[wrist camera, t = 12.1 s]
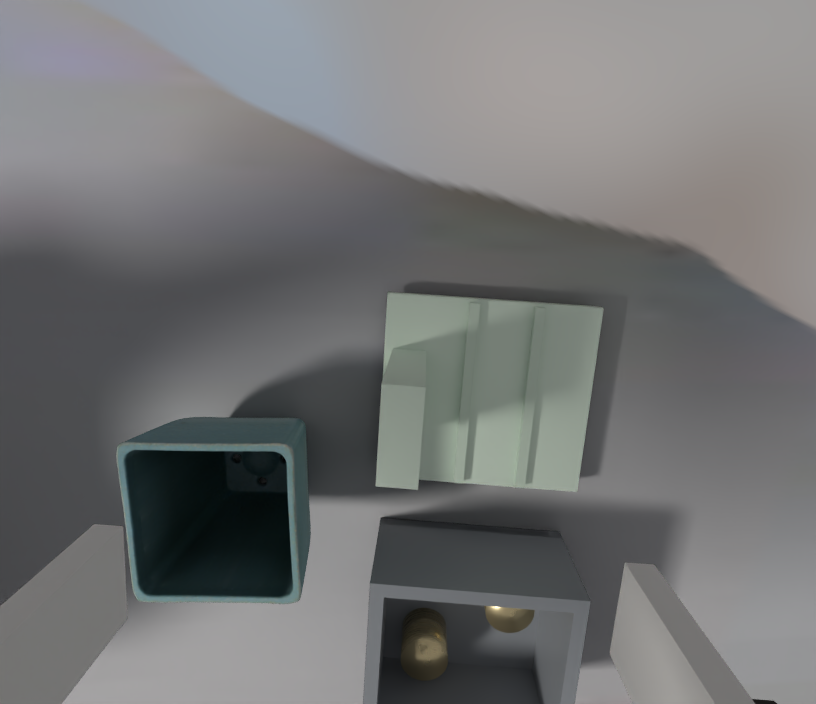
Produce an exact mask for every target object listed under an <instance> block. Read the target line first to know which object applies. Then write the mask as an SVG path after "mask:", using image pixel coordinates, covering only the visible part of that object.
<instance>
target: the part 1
mask: <svg viewBox="0 0 816 704" xmlns="http://www.w3.org/2000/svg"><path fill="white" fill-rule="evenodd" d="M401 665H402V668H403V670H404V671H405V672H406V674H408V675H409V676H410V677H412V678H414V679H417V680H421V681H428V680H433V679H436V678H438V677H439V676H441V675H442V674H443V673H444V671H445V670H446V668H447V665H448V652H447V632H446V622H445V620H444V618H443V616H442V615H441V614H440V613H439V612H437V611H435V610H433V609H430V608H418V609H415V610H413V611H411V612H410V613H408V614H407V616H406V617H405V619H404V621H403V628H402V644H401Z"/></svg>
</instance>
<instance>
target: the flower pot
mask: <svg viewBox="0 0 816 704" xmlns="http://www.w3.org/2000/svg"><path fill="white" fill-rule="evenodd" d="M235 454H238V455H240V457H241V460H240V461H235V460H234V458H233V456H234V455H235ZM282 456H283V457H284V458H285V460H286V462H285V461H283V460H282ZM116 460H117V468H118V475H119V482H120V489H121V495H122V502H123V509H124V518H125V526H126V534H127V543H128V557H129V564H130V572H131V581H132V589H133V592H134V595H135V597H136V599H137V600H138V601H141V602H151V603H155V602H163V603H168V602H170V603H178V602H180V603H181V602H213V603H214V602H218V603H224V602H226V603H230V602H232V603H272V604H290V603H294V602H298V601H299V600H300V598H301V593H302V587H303V582H304V576H305V571H306V565H307V558H308V552H309V545H310V533H311V532H310V510H309V491H308V471H307V443H306V426H305V423H304V422H303V421H302V420H301V419H299V418H215V417H194V418H184V419H179V420H175V421H172V422H170V423H167V424H165V425H162V426H160V427H158V428H155V429H153V430H150V431H148V432H146V433H144V434H141V435H139V436H137V437H134V438H132V439H130V440H128V441H125V442H122V443H121V444H119V445H118V446H117V452H116ZM260 477H264V478H265V479H266V480H267V482H266V483H265V484H261V483H260V482H259V479H260Z"/></svg>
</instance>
